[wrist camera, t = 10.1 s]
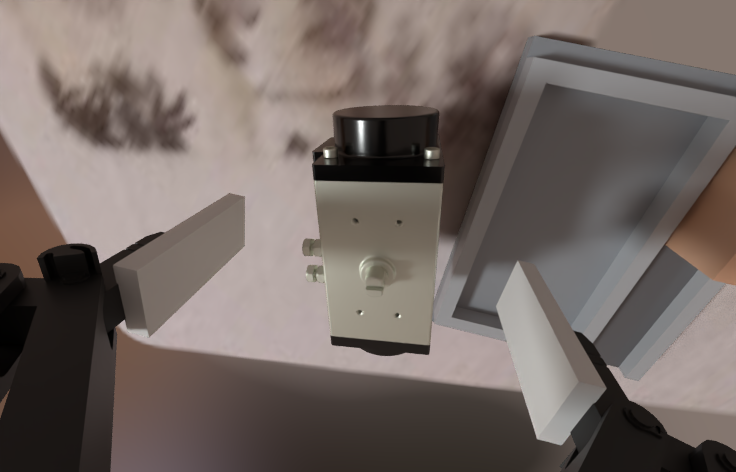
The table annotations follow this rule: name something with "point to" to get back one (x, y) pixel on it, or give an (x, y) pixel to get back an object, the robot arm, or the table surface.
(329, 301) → the pneumatic valve
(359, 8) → the table surface
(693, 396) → the table surface
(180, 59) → the table surface
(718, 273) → the tan cardboard box
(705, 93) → the grey tray
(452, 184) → the table surface
